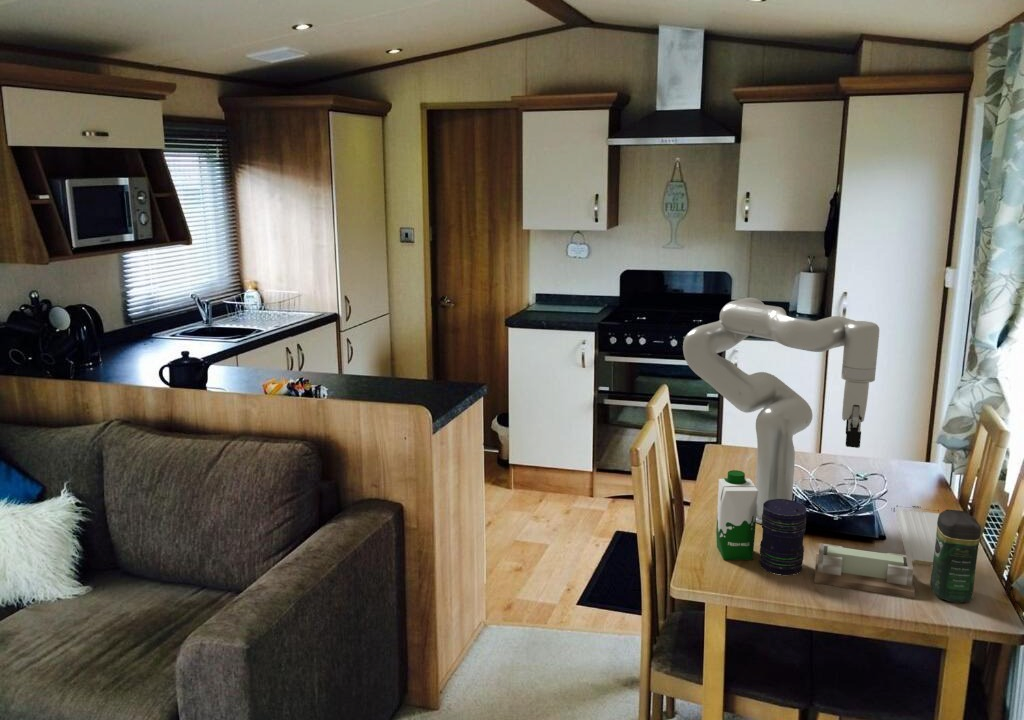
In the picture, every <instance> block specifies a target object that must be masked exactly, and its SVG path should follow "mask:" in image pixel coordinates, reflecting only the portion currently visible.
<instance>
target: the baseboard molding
mask: <svg viewBox="0 0 1024 720" xmlns="http://www.w3.org/2000/svg"><path fill="white" fill-rule="evenodd" d="M896 507H898V508H899V507H900V508H902V506H898V505H896ZM907 508H914V509H918V510H911V509H910V510H908V509H903V508H902V509H900V510H895V507H893V508H892V507H891V512H892V511H893V512H895V516H896V521H897V523H898V527H899V531H900V536H901V540H902V545H903V548H904V552H905V555H908V556H911V560H912V564H918V565H926V566H933V559H934V551H935V543H936V533H937V521H938V517H939V514H940V513H938V512H940V510H939V509H938V510H935V509H934V511H936V512H930V511H929V509H927V508H925V510H928V511H919V510H920V509H922V508H921V506H920V505H917V506H916V505H915V506H914V505H912V506H911V507H907Z"/></svg>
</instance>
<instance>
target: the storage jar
mask: <svg viewBox="0 0 1024 720" xmlns="http://www.w3.org/2000/svg"><path fill="white" fill-rule="evenodd" d="M807 511H808V510H807V507H806V506H805V505H804V504H803V503H801V502H799V501H796V500H793V499H792V500H787V499H772V500H768V501H766V502H764V504H763V514H762V524H761V528H762V537H761V541H760V544H759V547H760V548H759V567H760V568H761V567H762V568H763V569H762V568H761V569H762V570H764V569H765V570H766V571H765V570H764V571H765V572H767V571H768V573H770V572H771V574H772V573H775V574H774V575H776V574H781V575H780V576H783V575H790V576H794V575H793V574H796V575H798V574H800V573H801V572H802V571H803V561H804V552H805V547H804V536H805V535H804V534H805V533H806V530H807V529H806V527H807V526H806V525H807ZM799 572H800V573H799ZM797 573H798V574H797Z"/></svg>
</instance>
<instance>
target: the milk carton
mask: <svg viewBox="0 0 1024 720" xmlns="http://www.w3.org/2000/svg"><path fill="white" fill-rule="evenodd" d="M745 477H746V474H745V471H743V470H735V469H732V470H729V471H728V472H727V477H724V478H718V490H717V491H718V494H717V508H716V510H717V512H716V513H717V514H716V528H715V529H716V531H715V532H716V548H717V549H718V552H719V553H720V555H721V557H722V560H724V561H725V560H726V561H738V560H740V561H745V560H747V561H748V560H751V561H753V556H754V550H755V549H754V547H755V540H756V539H755V538H756V537H755V536H756V524H757V522H756V510H757V496H758V490H757V489H756V486H755V485H756V484H754V482H753V481H752V480H751V478H745Z"/></svg>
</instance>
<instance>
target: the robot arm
mask: <svg viewBox="0 0 1024 720" xmlns="http://www.w3.org/2000/svg"><path fill="white" fill-rule="evenodd" d="M749 336H751V337H757V338H762V339H765V340H766V339H768V340H773V341H774V342H776V343H778V344H780V345H782V346H784V347H788V348H791V349H796V350H800V351H806V352H813V353H821V352H822V353H823V352H826V351H829V350H831V349H835V348H841V347H843V353H842V366H841V377H840V378H841V379H842V380H844V389H843V390H844V391H843V399H842V410H841V411H842V412H841V414H842V416H841V418H842V421H843V422H844V421H845V422H846V423H845V425H846V426H845V435H846V436H845V447H847V448H848V447H849V448H856V449H859V448H860V447H861V438H862V431H861V430H862V429H861V427H862V423H863V422H864V421H865V417H866V411H867V404H868V396H869V390H870V389H869V388H870V383H873V382H875V380H876V374H877V373H876V372H877V370H876V369H877V363H878V361H877V360H878V350H879V340H880V339H879V338H880V327H879V325H878V324H877V323H876V322H873V321H868V320H867V321H866V320H854V319H850V318H847V317H844V316H840V315H833V316H829V317H824V318H821V319H818V320H808V319H803V318H802V319H801V318H796V317H792V316H788V315H787V312H786V310H785V309H784V308H783V307H780V306H776V305H768V304H764V302H763V301H761V300H760V299H759V298H755V297H745V298H741V299H735V300H732V301H729V302H727V303H726V304H725V305H724V306H723V307H722V308H721V310H720V312H719V320H717V321H713V322H709V323H707V324H702V325H699V326H696V327H694V328H692V329H691V330H690V331H689V332H687V334H686V335H685V336H684V339H683V342H682V344H683V345H682V351H683V357H684V359H685V361H686V364H687V365H688V367H689V368H690V370H692V371H693V372H694V374H695V375H697V376H698V377H700V378H701V379H702V380H703V381H705V383H707V384H708V385H709V386H711V387H712V388H713V389H714V390H715V391H716V392H718V393H719V394H720V395H721V396H722V397H723V398H724V399H726V401H728V402H729V403H730V404H731V405H732V406H733V407H735V408H736V409H737V410H739V411H740V412H743V413H746V414H747V413H748V414H749V413H753V412H756V411H758V410H760V412H759V413H758V414H757V417H756V419H755V432H756V433H755V434H756V440H757V441H756V443H757V449H756V452H757V453H756V472H755V484H754V485H755V486H756V489H757V490H758V496H757V510H756V524H760V525H762V514H763V504H764V502H766V501H768V500H772V499H787V500H792V501H793V492H794V477H795V460H796V459H795V457H796V452H795V451H796V450H795V446H794V441H793V437H794V435H796V434H798V433H800V432H802V431H804V430H806V429H807V428H808V427H809V426H810V425H811V423H812V420H813V415H814V414H813V411H812V410H813V409H812V408H811V406H810V404H809V403H808V402H807V401H806V400H805V399H804V398H803V397H802V396H801V395H800V394H799V393H797V392H796V391H795V390H794V389H792V388H791V387H790V386H789V385H787V384H786V383H785V382H784V381H782V380H781V379H779V378H778V377H777V376H776V375H774V374H771V373H770V372H769V373H768V372H767V371H766V372H764V371H759V372H754V373H752V374H748V373H746V372H745V371H744V370H742V369H741V368H739V367H738V366H737V365H736V364H735V363H734V362H732V361H730V360H728V359H727V358H724V357H722V356H720V355H719V354H720V353H722V352H725V351H728V350H730V349H732V348H734V347H736V346H737V345H738V344H739V343H741V342H742V341H743V340H745V339H747V337H749Z"/></svg>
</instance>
